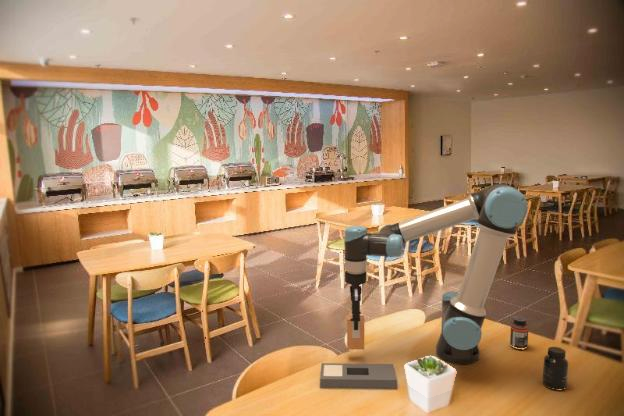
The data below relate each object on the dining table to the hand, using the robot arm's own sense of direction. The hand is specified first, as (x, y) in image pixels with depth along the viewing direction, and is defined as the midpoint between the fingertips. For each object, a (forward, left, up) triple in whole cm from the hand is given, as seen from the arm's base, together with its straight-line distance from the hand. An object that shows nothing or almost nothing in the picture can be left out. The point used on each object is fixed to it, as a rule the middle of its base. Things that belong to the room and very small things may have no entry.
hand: (355, 334), depth 157 cm
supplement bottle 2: (-62, +14, -10) cm, 65 cm away
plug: (0, 0, -5) cm, 5 cm away
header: (0, +14, -10) cm, 17 cm away
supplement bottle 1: (-61, -12, -10) cm, 63 cm away
